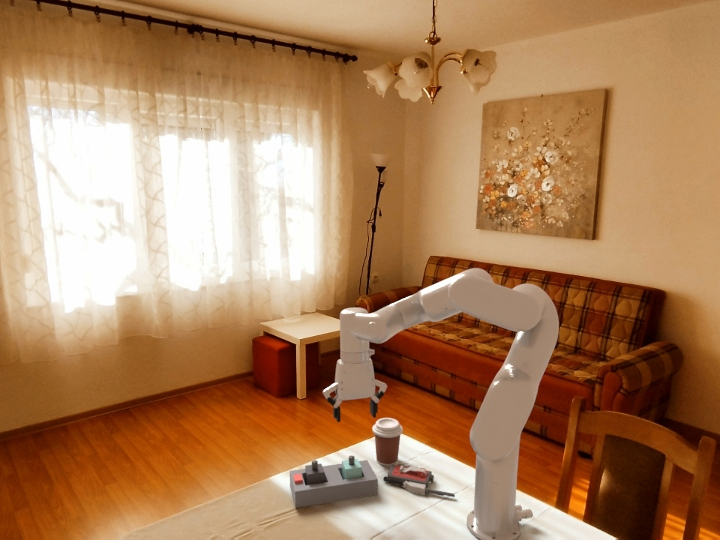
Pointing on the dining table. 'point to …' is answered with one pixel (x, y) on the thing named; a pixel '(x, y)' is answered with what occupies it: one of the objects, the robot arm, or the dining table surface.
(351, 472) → the plug
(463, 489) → the dining table surface
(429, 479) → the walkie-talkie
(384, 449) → the coffee cup
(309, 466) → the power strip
